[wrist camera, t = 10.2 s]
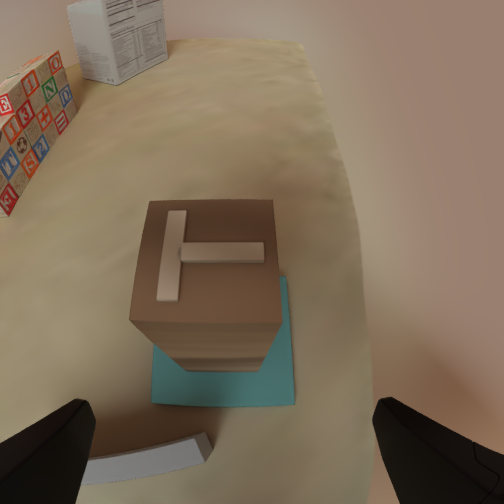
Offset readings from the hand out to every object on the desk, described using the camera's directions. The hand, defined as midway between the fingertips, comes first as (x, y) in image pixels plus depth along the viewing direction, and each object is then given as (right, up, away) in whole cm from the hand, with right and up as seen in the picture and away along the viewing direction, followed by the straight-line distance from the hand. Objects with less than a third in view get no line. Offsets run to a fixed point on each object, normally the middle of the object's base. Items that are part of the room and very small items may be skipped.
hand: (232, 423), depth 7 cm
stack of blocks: (-31, +18, +24) cm, 43 cm away
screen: (-8, -10, +8) cm, 16 cm away
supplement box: (-24, +41, +38) cm, 61 cm away
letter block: (-2, -1, +13) cm, 13 cm away
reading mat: (-2, -2, +14) cm, 14 cm away
